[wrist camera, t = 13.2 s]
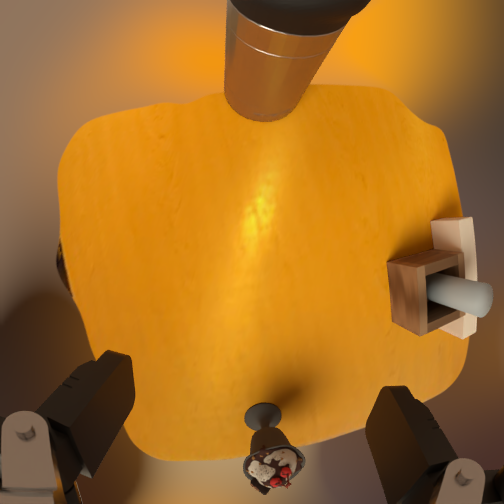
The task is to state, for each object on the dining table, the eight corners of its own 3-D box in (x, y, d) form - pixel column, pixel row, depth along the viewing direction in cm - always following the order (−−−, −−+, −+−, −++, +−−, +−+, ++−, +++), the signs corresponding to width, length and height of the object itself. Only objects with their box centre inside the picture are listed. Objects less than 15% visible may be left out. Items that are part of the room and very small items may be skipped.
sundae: (278, 390, 35) (307, 468, 20) (293, 425, 35) (322, 501, 20) (230, 406, 34) (236, 489, 19) (248, 440, 35) (260, 520, 20)
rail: (430, 221, 35) (458, 220, 29) (444, 218, 35) (472, 216, 29) (437, 327, 36) (462, 339, 30) (450, 321, 37) (475, 331, 31)
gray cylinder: (411, 273, 34) (474, 288, 23) (430, 267, 35) (493, 279, 23) (412, 299, 35) (473, 321, 23) (431, 292, 35) (492, 311, 23)
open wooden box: (386, 262, 35) (416, 267, 28) (432, 249, 35) (463, 252, 29) (392, 321, 35) (419, 336, 29) (436, 304, 36) (465, 315, 29)
